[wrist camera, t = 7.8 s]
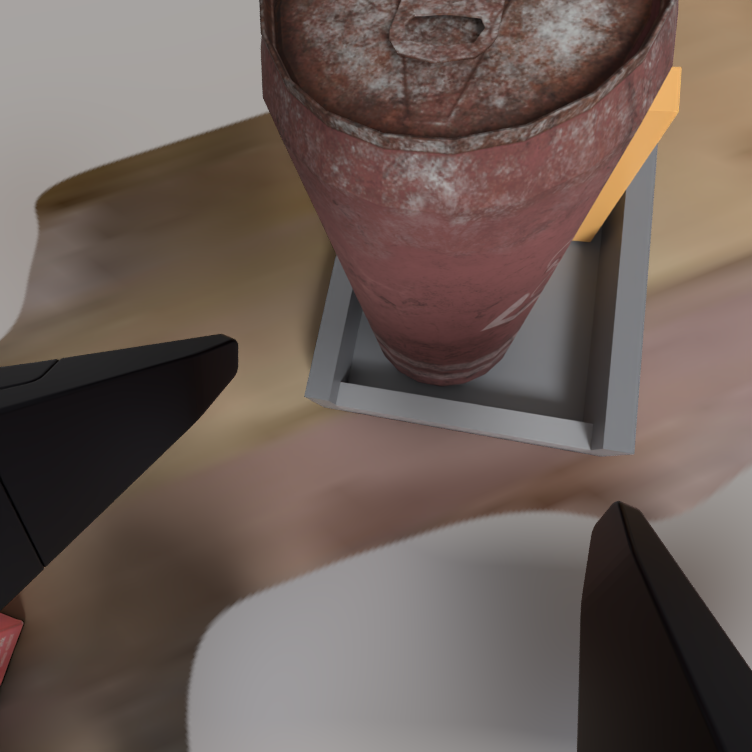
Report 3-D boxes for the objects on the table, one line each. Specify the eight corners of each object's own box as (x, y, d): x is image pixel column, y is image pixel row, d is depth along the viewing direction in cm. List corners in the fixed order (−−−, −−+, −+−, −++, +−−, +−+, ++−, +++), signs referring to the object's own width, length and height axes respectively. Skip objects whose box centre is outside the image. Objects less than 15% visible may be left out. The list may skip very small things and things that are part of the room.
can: (473, 233, 20) (553, -293, 6) (538, 353, 18) (846, 4, 4) (354, 287, 20) (175, -100, 6) (408, 410, 18) (323, 244, 5)
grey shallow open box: (601, 456, 17) (664, 452, 12) (324, 407, 19) (286, 387, 15) (628, 160, 20) (688, 61, 15) (380, 145, 22) (364, 54, 17)
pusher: (590, 242, 18) (678, 111, 12) (389, 223, 20) (365, 99, 13) (595, 191, 19) (683, 38, 12) (399, 177, 21) (380, 34, 14)
